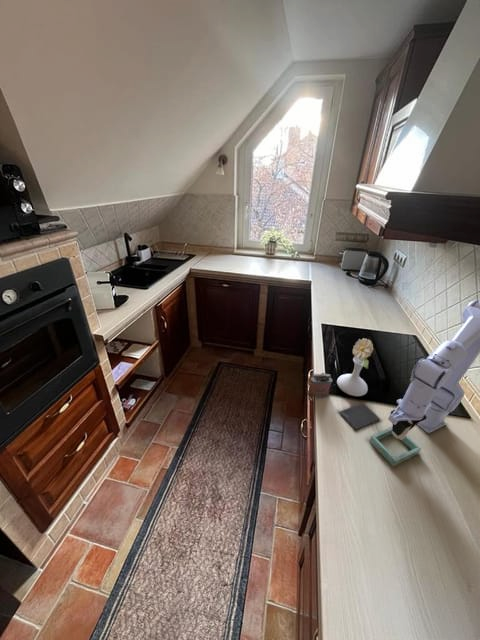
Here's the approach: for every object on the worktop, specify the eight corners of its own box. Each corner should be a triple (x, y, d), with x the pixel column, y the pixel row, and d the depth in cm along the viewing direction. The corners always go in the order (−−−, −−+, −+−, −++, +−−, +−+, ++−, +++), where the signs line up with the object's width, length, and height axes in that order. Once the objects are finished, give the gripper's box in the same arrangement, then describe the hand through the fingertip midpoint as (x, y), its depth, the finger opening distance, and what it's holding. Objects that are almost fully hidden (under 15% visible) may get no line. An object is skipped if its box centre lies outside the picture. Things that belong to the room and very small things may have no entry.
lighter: (326, 390, 99) (331, 371, 94) (329, 397, 96) (335, 377, 92) (306, 390, 99) (310, 371, 94) (308, 397, 96) (313, 377, 91)
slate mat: (362, 403, 94) (362, 402, 94) (379, 419, 88) (379, 418, 88) (339, 412, 90) (339, 411, 90) (355, 430, 84) (355, 428, 84)
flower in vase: (335, 375, 107) (349, 325, 95) (364, 381, 105) (382, 330, 92) (337, 398, 96) (353, 344, 84) (369, 405, 94) (391, 350, 81)
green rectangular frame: (393, 430, 85) (395, 425, 83) (418, 453, 78) (421, 448, 76) (369, 441, 81) (371, 436, 80) (393, 466, 74) (396, 461, 73)
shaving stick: (397, 428, 79) (404, 414, 75) (407, 437, 76) (415, 423, 73) (389, 431, 77) (396, 417, 74) (399, 441, 75) (407, 427, 71)
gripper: (421, 381, 75) (405, 413, 81) (385, 395, 70) (371, 427, 76) (445, 398, 69) (426, 430, 76) (409, 415, 64) (392, 448, 71)
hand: (400, 430), depth 76 cm, fingers closed on shaving stick, 3 cm apart
